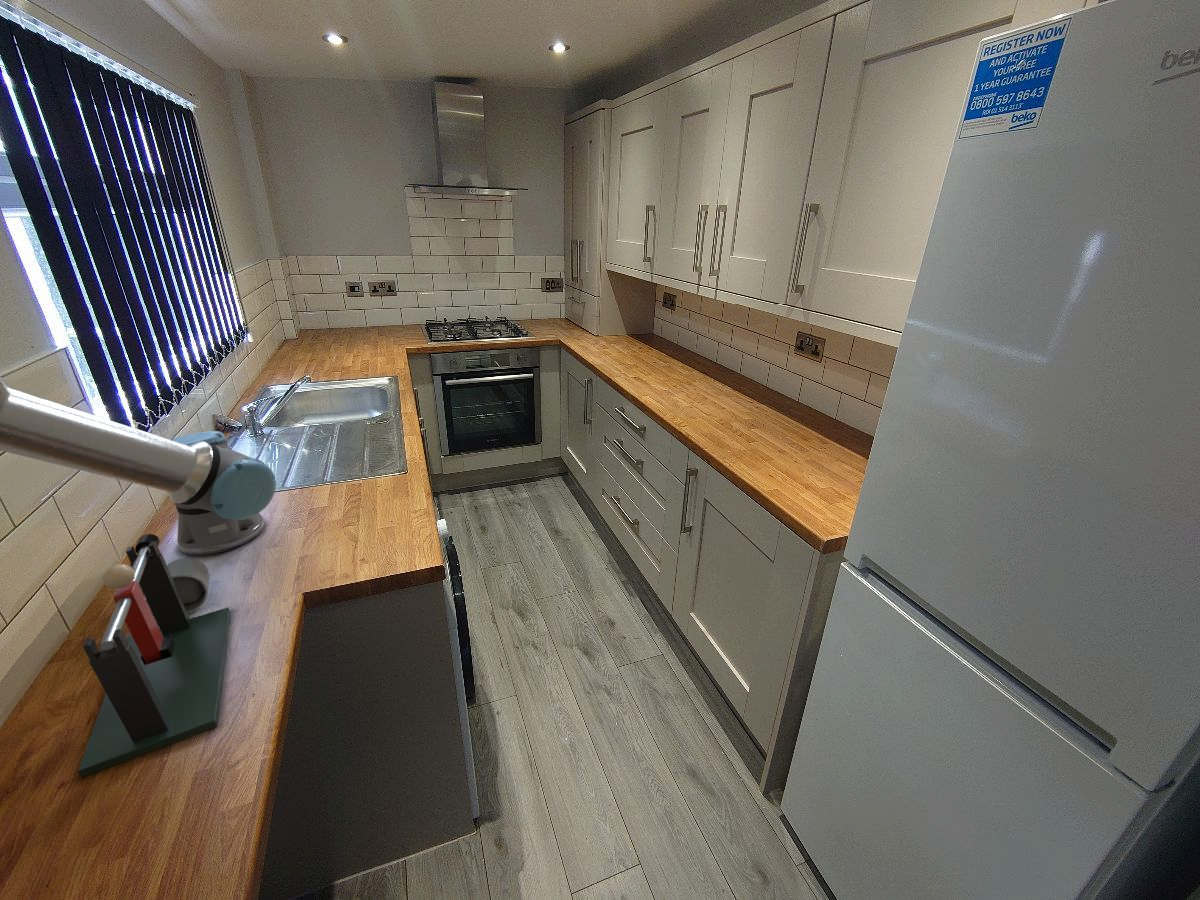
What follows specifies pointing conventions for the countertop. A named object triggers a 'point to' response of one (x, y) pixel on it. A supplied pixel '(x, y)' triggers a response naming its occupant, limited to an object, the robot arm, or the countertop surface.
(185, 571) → the ceramic mug
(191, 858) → the countertop surface
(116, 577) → the foosball rod
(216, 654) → the foosball frame
